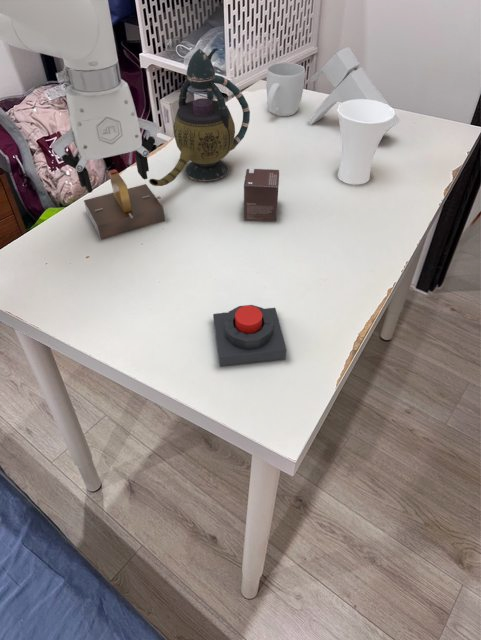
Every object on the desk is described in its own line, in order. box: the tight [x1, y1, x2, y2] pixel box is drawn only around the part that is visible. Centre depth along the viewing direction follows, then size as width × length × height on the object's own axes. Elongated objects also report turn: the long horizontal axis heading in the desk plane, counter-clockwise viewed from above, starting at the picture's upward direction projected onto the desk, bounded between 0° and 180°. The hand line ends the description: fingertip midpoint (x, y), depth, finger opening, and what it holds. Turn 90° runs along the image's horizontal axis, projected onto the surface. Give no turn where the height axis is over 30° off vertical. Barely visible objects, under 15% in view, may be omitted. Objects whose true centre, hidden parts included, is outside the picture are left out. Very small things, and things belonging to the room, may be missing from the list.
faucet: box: [309, 46, 401, 133], centre depth 107 cm, size 6×16×20 cm
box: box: [243, 168, 280, 223], centre depth 84 cm, size 6×6×7 cm
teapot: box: [148, 48, 251, 187], centre depth 87 cm, size 12×25×23 cm, turn 146°
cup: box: [337, 99, 396, 186], centre depth 91 cm, size 10×10×14 cm
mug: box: [265, 61, 306, 117], centre depth 113 cm, size 13×9×10 cm
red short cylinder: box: [235, 305, 262, 334], centre depth 62 cm, size 4×4×2 cm
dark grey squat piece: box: [212, 304, 287, 368], centre depth 64 cm, size 9×8×4 cm
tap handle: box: [108, 169, 132, 213], centre depth 82 cm, size 6×1×5 cm, turn 28°
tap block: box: [83, 183, 166, 241], centre depth 85 cm, size 12×10×3 cm
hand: (116, 182), depth 80 cm, fingers open, 9 cm apart
